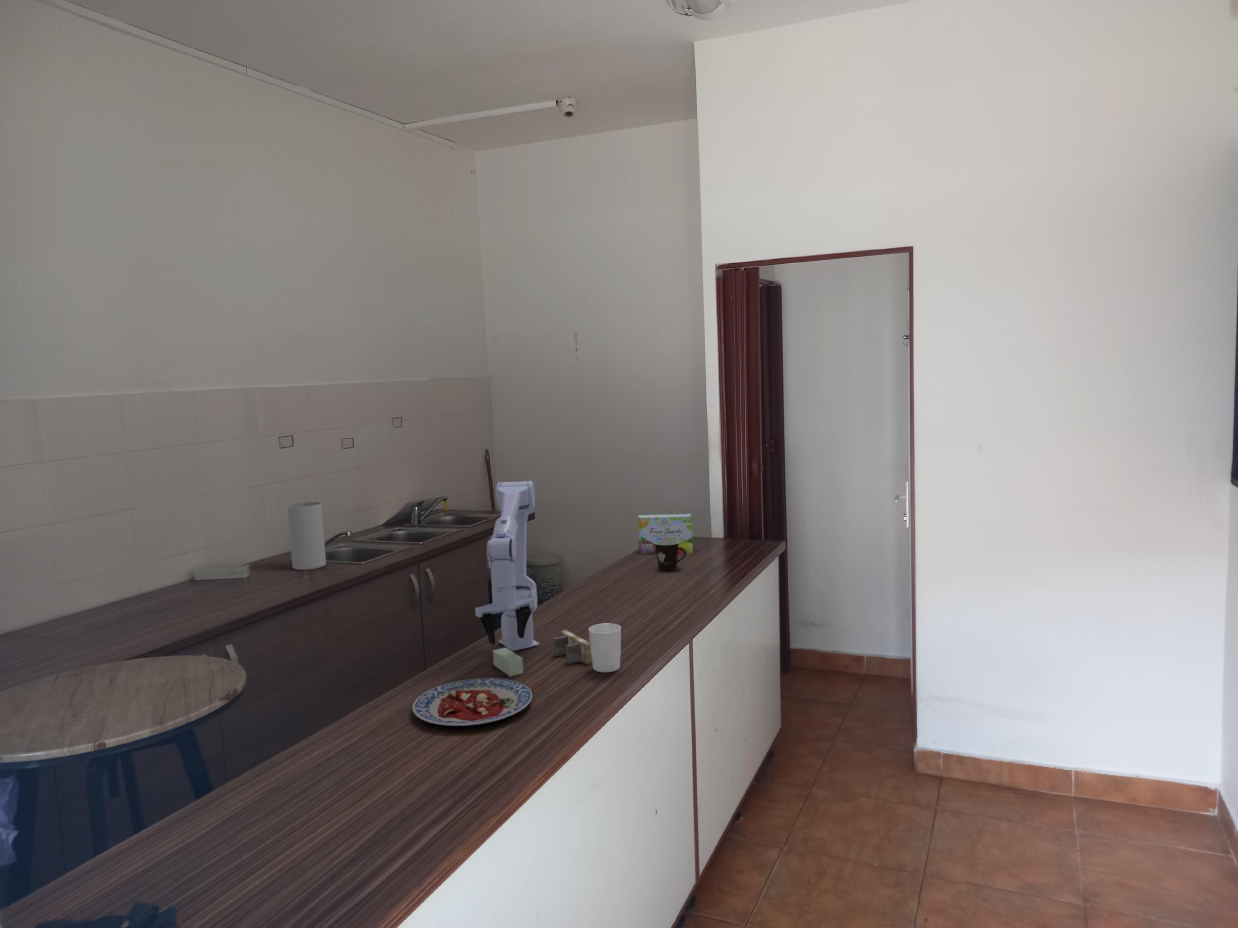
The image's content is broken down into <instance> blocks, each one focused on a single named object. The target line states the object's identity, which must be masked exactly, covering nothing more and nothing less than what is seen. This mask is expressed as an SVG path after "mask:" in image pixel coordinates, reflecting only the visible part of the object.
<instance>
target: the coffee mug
mask: <svg viewBox="0 0 1238 928" xmlns="http://www.w3.org/2000/svg"><path fill="white" fill-rule="evenodd" d="M655 547H656V553H657V554H656V558H657V566H658V571H660V572H664V573H671V572H675V571H677V569H678V563H679V562H681V561H682V560H684V558H685V557H686V555H687V553H686V552H685V550H684V549H683V548H681V547H680V548H678V547H679V542H678V541H674V540H662V541H657V542H655ZM679 549H682V550H683V552H684V553H683V556H682V557H681V558H680V559H678V556H679V553H678V550H679Z"/></svg>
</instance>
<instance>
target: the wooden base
mask: <svg viewBox="0 0 1238 928" xmlns="http://www.w3.org/2000/svg"><path fill="white" fill-rule="evenodd" d="M559 634H560V636H556V637H552V639H553V640H552V643H553V655H554V656H555V657H560V656H565V658H566V659H565V660H566V663H567V664H568V665H572V664H575V663H580V662H582V663H584V664H586V665H589V664H593V663H592V658H591V648H590V641H588V640H585V639H584V638H581V637H579V636H578V635H576V634H574V633H573V632H570V631H569V630H567V629H562V630H560V633H559Z"/></svg>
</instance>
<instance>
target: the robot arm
mask: <svg viewBox="0 0 1238 928" xmlns="http://www.w3.org/2000/svg"><path fill="white" fill-rule="evenodd" d="M535 490H536V489H535V484H534V482H533V481H532V480H526V481H498V482H497V484H496V486H495V499H496V502H497V505H498V507H499V510H500V513H501V514H500V517H498V518H497V519H496V520H495V524H494V529H493V531H492V537H491V538H490V539H488V541H487V543H486V555H487V560H488V569H489V570H490V577H491V594H492V596H491V597H492V603H489V604H485V605H482V606H478V607H475V616H476V617H477V618H478V619H479V620H480V622H481V624H482V626H483V628H484V630H485V631H486V635H487V639H488V643H489V644H491V645H496V636H495V635H496V634H495V633H496V632H495V627H496V626H495V625H496V618H494V617H493V615H495V614H500V613H502V615H501V618H500V625H501V627H500V629H501V639H499V641H498V642H499V644H501V645H503V646H504V647H505V648H507V649H509V650H510V651H512V652H514V651H515V652H516V651H519V650H524V649H529V648H532V647H538V646H540V642H538V641H536V640H535V639H534V625H533V624H534V622H533V621H534V620H533V612H535V611H536V610H537V607H538V592H537V584H536V582H535V581H534V580H533V579H532V578H531V577H529V576H528V575H527V535H528V533H527V528H528V527H527V526H528V524H527V522H528V519H529V515H531V514H533V513H534V512H535V507H536V505H535V503H536V491H535Z"/></svg>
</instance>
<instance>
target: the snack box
mask: <svg viewBox="0 0 1238 928" xmlns="http://www.w3.org/2000/svg"><path fill="white" fill-rule="evenodd" d="M637 521H638V524H637V525H638V527H637V529H638V553H639V555H652V554H653V555H654V554H655V555H657V553H656V547H655V542H657V541H662V540H674V541H678V542H679V547H678V548H680V547H681V548H683V549H684V550H685V552H686V554H692V553H694V547H693V546H694V545H693V544H694V541H693V537H694V536H693V517H692V513H676V514H675V513H673V514H672V513H671V514H667V513H664V514H639V515H637ZM678 554H684V552H683V550H682V549H679V550H678Z"/></svg>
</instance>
